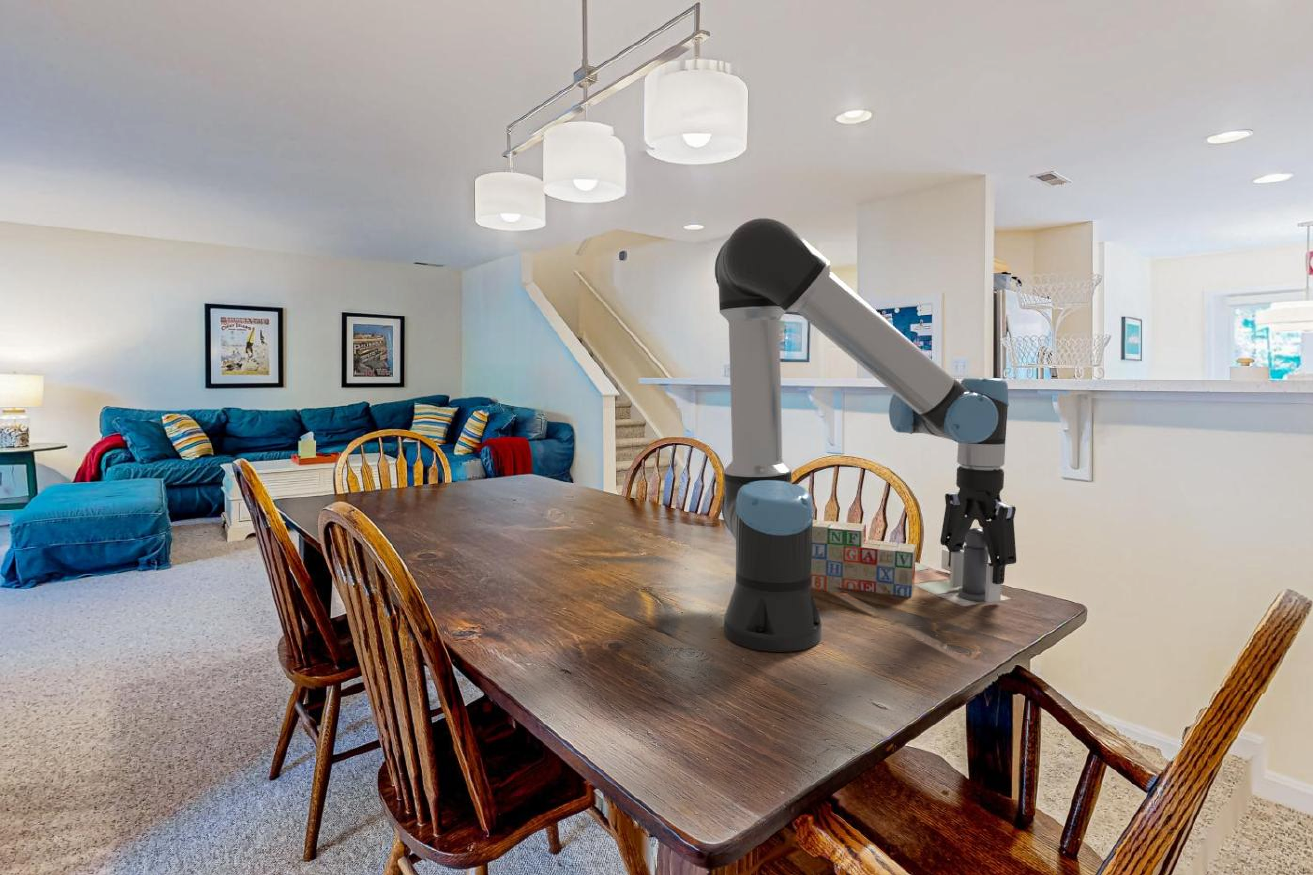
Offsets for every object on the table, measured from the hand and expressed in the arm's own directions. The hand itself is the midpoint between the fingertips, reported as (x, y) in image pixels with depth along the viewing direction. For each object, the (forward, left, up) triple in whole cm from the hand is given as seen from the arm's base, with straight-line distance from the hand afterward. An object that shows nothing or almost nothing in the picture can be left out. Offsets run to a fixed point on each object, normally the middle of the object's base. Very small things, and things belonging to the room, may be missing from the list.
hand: (974, 593), depth 124 cm
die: (+10, +14, -2) cm, 17 cm away
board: (0, +10, -2) cm, 10 cm away
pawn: (0, 0, -1) cm, 1 cm away
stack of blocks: (-16, +14, -2) cm, 21 cm away
